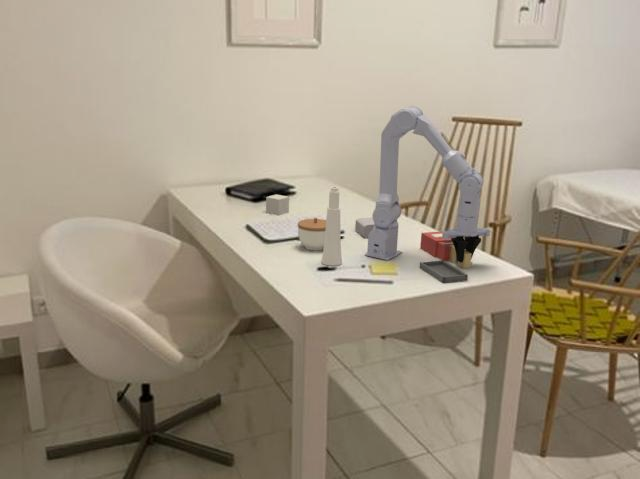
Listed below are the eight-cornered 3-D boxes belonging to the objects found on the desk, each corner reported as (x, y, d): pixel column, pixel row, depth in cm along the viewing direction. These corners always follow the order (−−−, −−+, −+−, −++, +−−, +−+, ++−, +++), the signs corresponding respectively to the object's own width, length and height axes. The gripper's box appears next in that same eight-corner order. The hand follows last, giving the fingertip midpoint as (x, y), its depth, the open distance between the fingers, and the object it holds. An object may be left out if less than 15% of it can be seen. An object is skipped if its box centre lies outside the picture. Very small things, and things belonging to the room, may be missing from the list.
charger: (374, 225, 229) (390, 237, 215) (349, 226, 226) (363, 239, 213) (375, 212, 228) (391, 223, 214) (349, 213, 225) (364, 225, 211)
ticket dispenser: (465, 258, 195) (466, 242, 194) (441, 261, 192) (443, 244, 191) (442, 246, 207) (444, 230, 205) (420, 248, 204) (421, 232, 202)
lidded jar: (338, 246, 203) (339, 217, 201) (320, 255, 195) (321, 224, 192) (309, 240, 209) (309, 211, 206) (290, 248, 200) (291, 218, 197)
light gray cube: (288, 212, 242) (289, 196, 241) (278, 215, 238) (279, 199, 236) (276, 209, 246) (276, 194, 244) (265, 212, 241) (266, 196, 239)
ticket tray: (467, 280, 177) (467, 274, 176) (442, 283, 174) (443, 277, 174) (442, 265, 189) (443, 260, 188) (419, 267, 186) (419, 262, 186)
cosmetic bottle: (346, 262, 188) (349, 187, 182) (332, 267, 184) (335, 190, 178) (330, 257, 192) (333, 184, 186) (316, 262, 188) (319, 187, 181)
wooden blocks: (470, 267, 188) (471, 253, 186) (463, 268, 187) (465, 253, 186) (451, 256, 196) (452, 243, 195) (445, 257, 196) (446, 243, 195)
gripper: (453, 220, 179) (449, 267, 182) (498, 217, 184) (493, 263, 187) (440, 214, 185) (436, 259, 189) (483, 211, 190) (479, 255, 194)
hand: (463, 261), depth 189 cm, fingers closed on wooden blocks, 2 cm apart
